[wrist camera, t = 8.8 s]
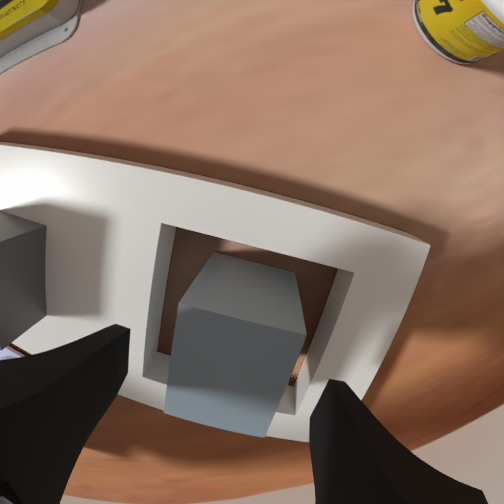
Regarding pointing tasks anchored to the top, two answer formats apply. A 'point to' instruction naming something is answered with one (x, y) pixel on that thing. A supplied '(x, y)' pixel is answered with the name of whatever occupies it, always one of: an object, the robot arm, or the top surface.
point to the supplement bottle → (461, 27)
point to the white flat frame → (159, 254)
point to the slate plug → (234, 345)
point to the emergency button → (34, 27)
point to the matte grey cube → (21, 276)
